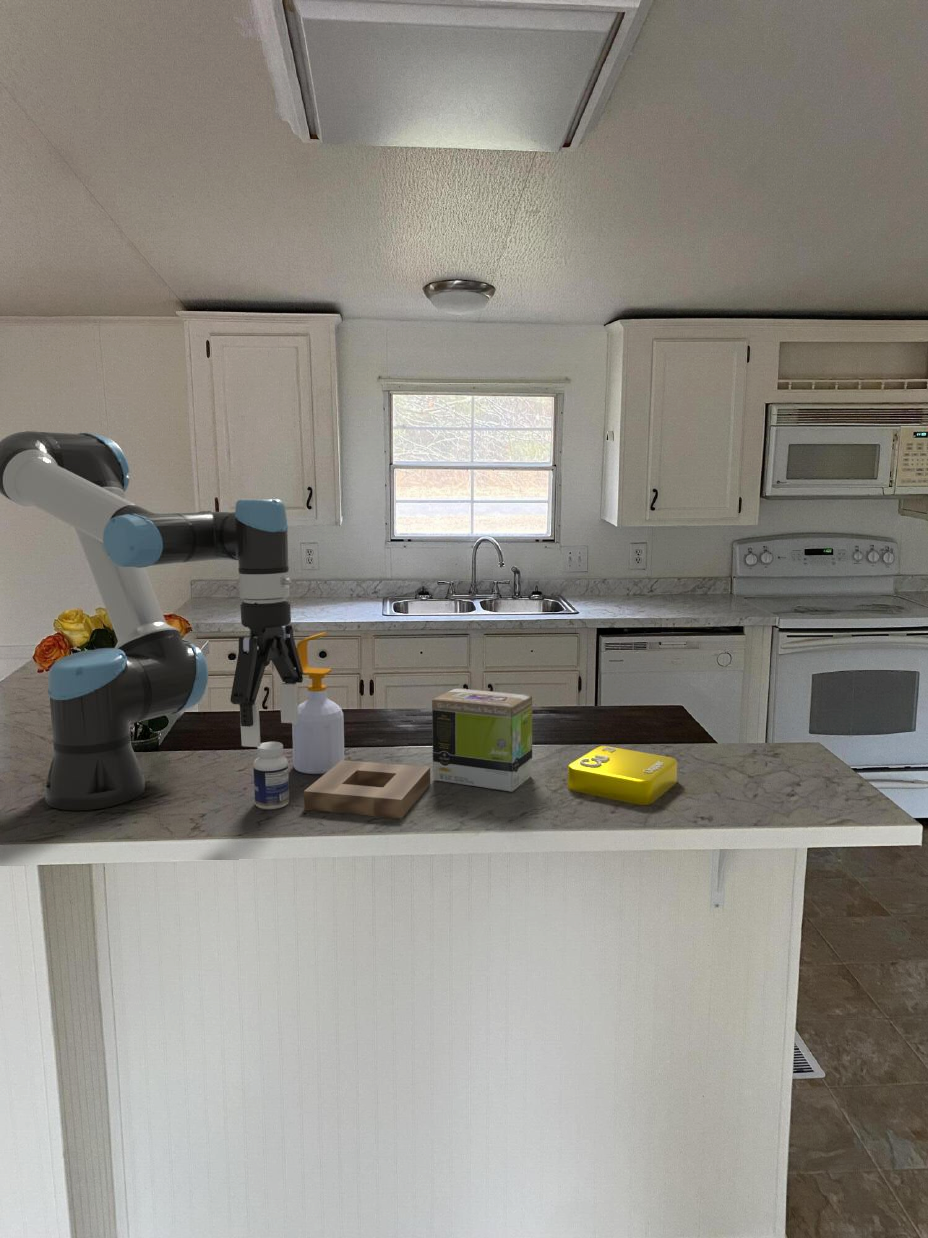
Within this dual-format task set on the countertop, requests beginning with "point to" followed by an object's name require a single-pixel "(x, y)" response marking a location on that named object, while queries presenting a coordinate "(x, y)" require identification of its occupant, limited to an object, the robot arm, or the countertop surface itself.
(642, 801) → the element tile
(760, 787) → the countertop surface
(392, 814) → the socket block
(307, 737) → the soap bottle
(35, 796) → the countertop surface
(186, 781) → the countertop surface
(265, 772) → the pill bottle
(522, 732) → the tea box
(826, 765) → the countertop surface
